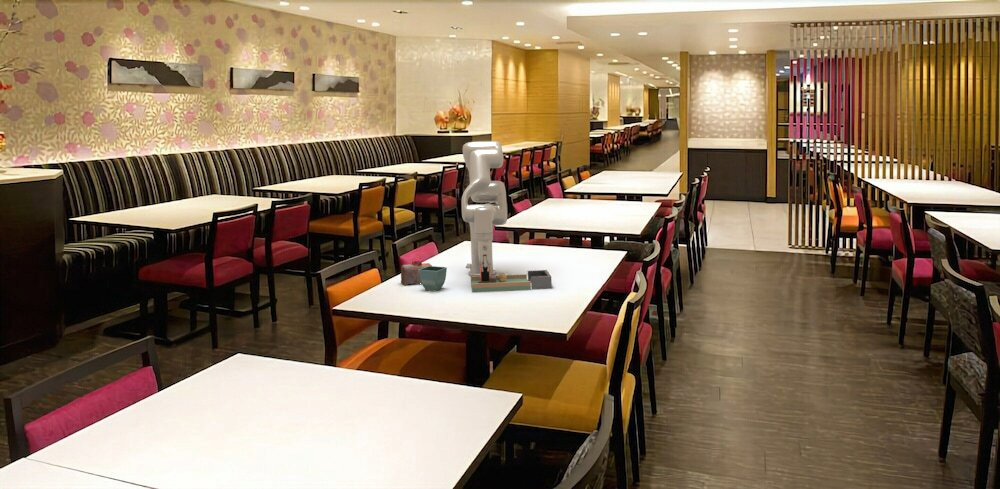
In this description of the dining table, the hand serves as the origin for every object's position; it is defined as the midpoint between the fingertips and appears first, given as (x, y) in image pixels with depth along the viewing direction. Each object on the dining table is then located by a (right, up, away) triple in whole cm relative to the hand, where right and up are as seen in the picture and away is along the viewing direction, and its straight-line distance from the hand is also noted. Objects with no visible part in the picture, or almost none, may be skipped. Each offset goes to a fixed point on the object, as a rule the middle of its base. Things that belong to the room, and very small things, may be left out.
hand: (485, 279), depth 316 cm
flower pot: (-21, -4, 0) cm, 22 cm away
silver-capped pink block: (+1, -2, 0) cm, 2 cm away
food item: (-30, -2, +13) cm, 32 cm away
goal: (+22, -3, +2) cm, 22 cm away
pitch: (+6, -3, +1) cm, 7 cm away
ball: (+7, +1, 0) cm, 7 cm away
